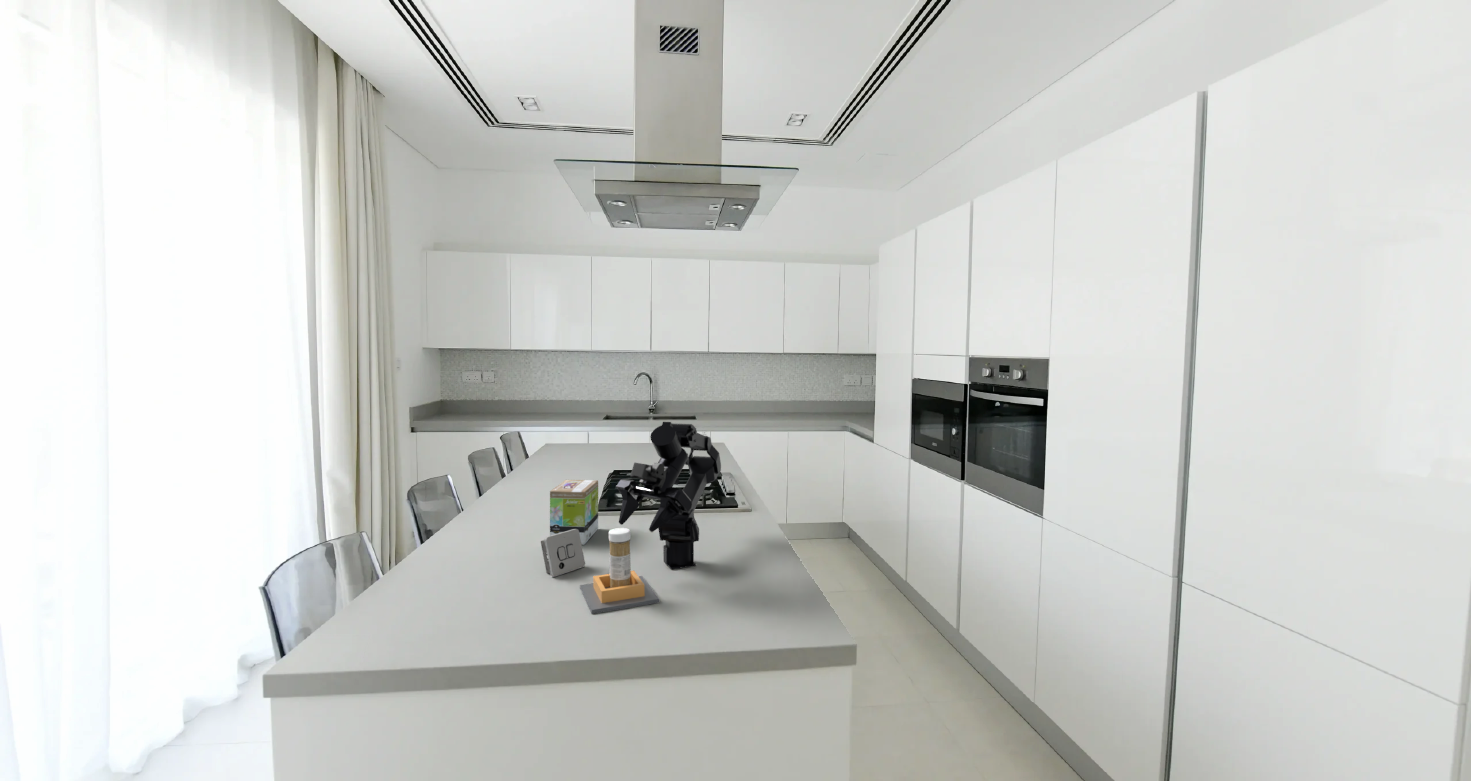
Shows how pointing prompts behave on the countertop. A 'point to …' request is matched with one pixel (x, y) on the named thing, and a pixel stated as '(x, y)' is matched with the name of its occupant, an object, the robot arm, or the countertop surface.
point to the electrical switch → (563, 552)
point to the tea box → (574, 508)
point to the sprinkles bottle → (619, 557)
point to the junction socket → (617, 594)
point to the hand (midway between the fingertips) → (635, 527)
